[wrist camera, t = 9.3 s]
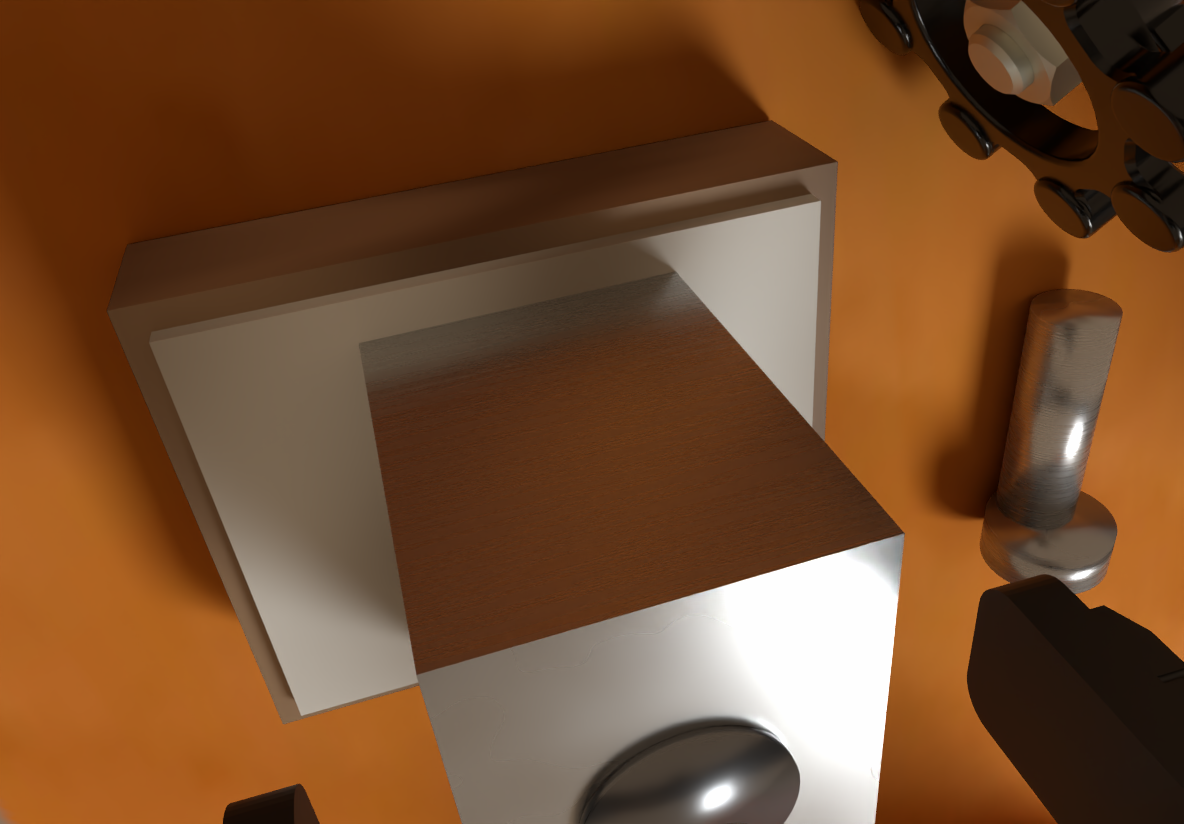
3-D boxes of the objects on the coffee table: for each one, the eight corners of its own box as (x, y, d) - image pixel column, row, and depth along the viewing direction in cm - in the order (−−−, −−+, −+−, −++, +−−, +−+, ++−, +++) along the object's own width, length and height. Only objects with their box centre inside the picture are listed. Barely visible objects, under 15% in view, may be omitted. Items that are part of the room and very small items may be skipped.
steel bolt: (990, 305, 19) (1082, 368, 17) (1104, 277, 19) (1206, 336, 17) (956, 532, 22) (1028, 608, 20) (1054, 503, 23) (1135, 575, 21)
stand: (771, 120, 16) (848, 168, 14) (769, 502, 20) (825, 581, 18) (126, 244, 14) (103, 321, 12) (281, 633, 18) (283, 738, 16)
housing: (676, 271, 14) (913, 543, 9) (694, 578, 17) (873, 903, 12) (358, 343, 13) (417, 689, 8) (443, 650, 16) (524, 1030, 11)
